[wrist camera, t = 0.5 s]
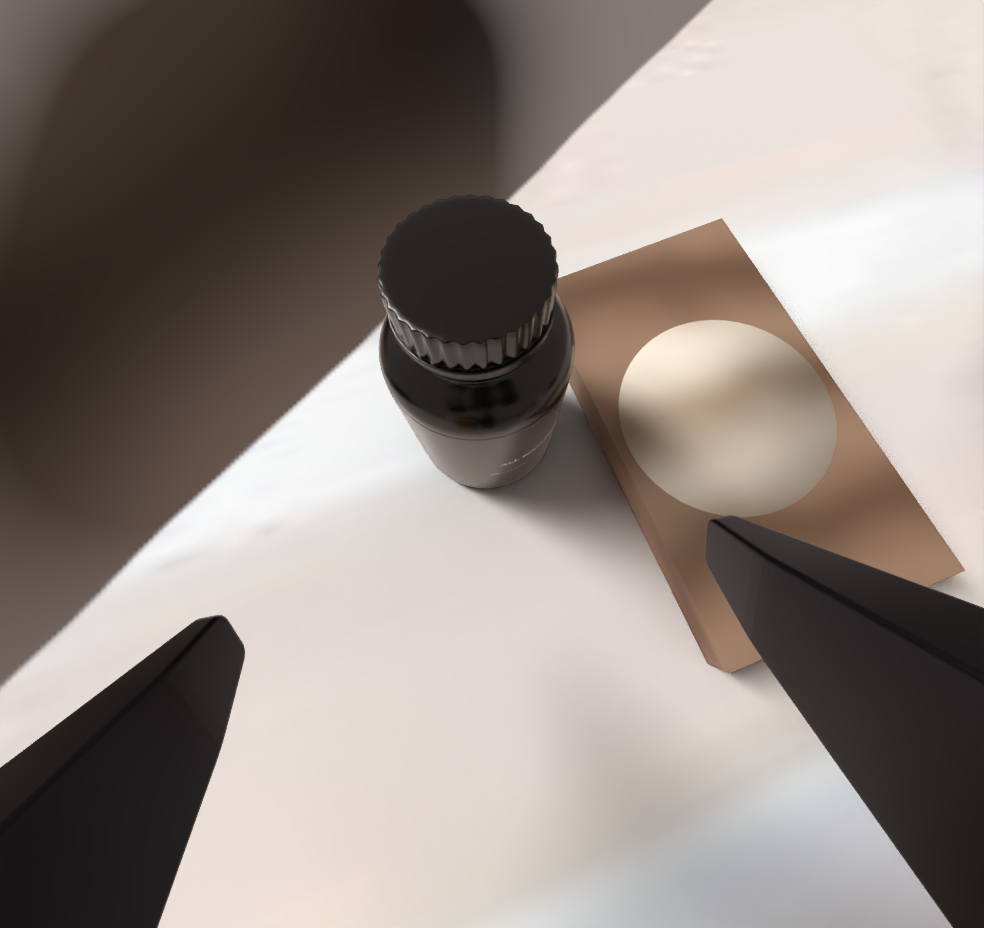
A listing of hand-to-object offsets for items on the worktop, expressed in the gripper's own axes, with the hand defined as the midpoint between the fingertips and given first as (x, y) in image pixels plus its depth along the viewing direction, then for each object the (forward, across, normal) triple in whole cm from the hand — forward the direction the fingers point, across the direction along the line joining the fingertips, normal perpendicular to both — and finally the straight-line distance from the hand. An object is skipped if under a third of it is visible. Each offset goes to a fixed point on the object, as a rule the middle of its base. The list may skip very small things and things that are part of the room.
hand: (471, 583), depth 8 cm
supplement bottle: (+15, -1, +3) cm, 15 cm away
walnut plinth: (+13, -12, +5) cm, 19 cm away
